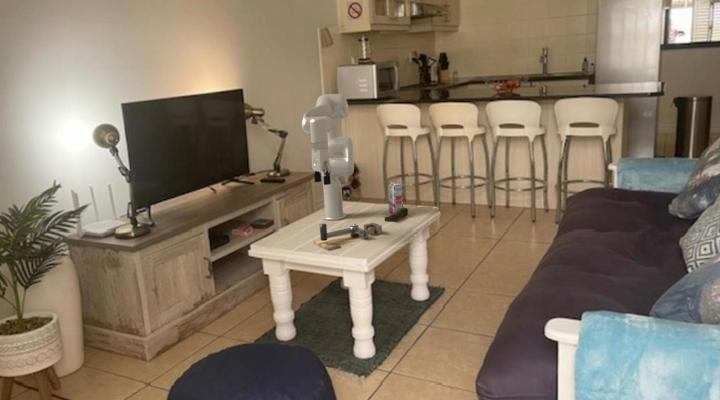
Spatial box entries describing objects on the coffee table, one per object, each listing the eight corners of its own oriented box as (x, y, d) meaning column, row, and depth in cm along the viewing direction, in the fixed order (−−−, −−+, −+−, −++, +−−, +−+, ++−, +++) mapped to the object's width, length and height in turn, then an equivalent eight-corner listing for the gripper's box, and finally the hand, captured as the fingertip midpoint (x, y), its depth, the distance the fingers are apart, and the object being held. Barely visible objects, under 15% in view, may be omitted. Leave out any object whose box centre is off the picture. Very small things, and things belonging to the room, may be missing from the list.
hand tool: (390, 224, 292) (390, 215, 291) (384, 223, 294) (383, 214, 293) (412, 216, 306) (412, 207, 305) (406, 215, 309) (405, 206, 308)
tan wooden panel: (313, 243, 268) (313, 232, 267) (369, 230, 283) (368, 220, 282) (327, 250, 257) (326, 239, 256) (384, 236, 273) (383, 225, 271)
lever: (319, 242, 264) (317, 224, 262) (357, 233, 274) (356, 215, 273) (329, 247, 256) (328, 228, 254) (368, 238, 266) (367, 220, 264)
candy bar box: (404, 215, 307) (402, 184, 303) (395, 216, 305) (393, 185, 302) (397, 210, 317) (396, 180, 313) (388, 211, 316) (387, 181, 312)
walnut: (366, 234, 273) (365, 226, 273) (372, 232, 275) (372, 225, 274) (370, 236, 270) (369, 228, 270) (376, 234, 272) (376, 226, 271)
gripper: (304, 145, 271) (307, 182, 274) (320, 148, 256) (323, 186, 259) (319, 143, 274) (321, 180, 278) (336, 146, 259) (338, 184, 263)
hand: (322, 183), depth 268 cm, fingers open, 9 cm apart
